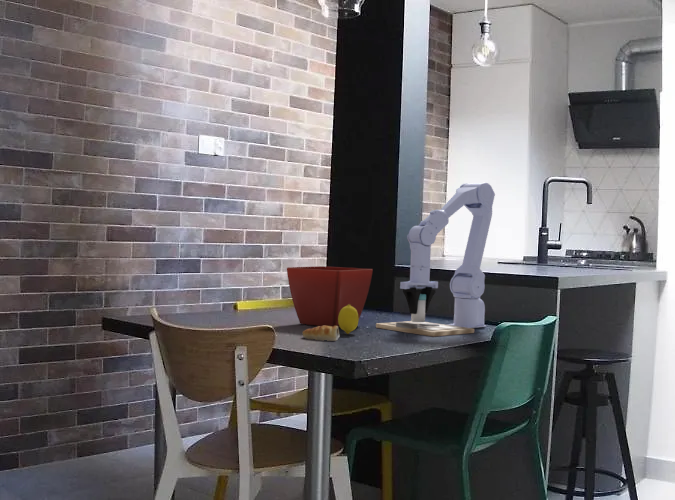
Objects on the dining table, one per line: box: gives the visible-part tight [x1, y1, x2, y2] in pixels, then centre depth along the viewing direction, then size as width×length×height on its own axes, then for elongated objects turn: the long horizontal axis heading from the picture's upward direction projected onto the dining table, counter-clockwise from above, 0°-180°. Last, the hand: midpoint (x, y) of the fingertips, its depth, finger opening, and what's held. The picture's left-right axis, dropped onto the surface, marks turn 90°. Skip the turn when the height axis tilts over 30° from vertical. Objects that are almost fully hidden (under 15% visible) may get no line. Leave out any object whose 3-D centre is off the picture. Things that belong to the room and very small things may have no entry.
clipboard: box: [375, 320, 475, 337], centre depth 236 cm, size 18×22×2 cm
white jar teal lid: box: [410, 294, 426, 322], centre depth 238 cm, size 4×4×8 cm
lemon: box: [338, 305, 360, 335], centre depth 221 cm, size 6×6×8 cm
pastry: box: [302, 325, 341, 342], centre depth 209 cm, size 9×7×4 cm
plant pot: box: [286, 265, 373, 328], centre depth 241 cm, size 19×19×17 cm
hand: (418, 313), depth 238 cm, fingers closed on white jar teal lid, 4 cm apart
